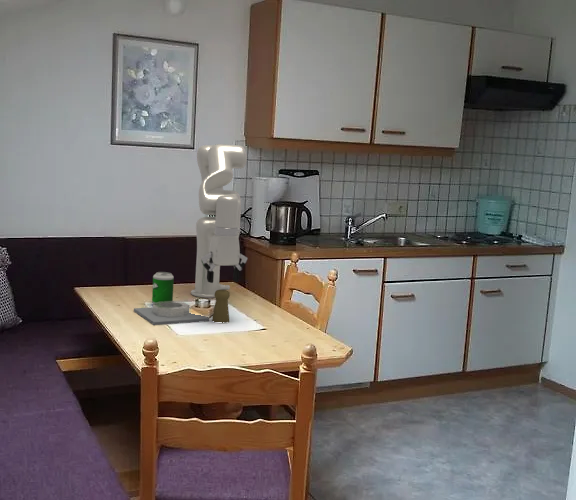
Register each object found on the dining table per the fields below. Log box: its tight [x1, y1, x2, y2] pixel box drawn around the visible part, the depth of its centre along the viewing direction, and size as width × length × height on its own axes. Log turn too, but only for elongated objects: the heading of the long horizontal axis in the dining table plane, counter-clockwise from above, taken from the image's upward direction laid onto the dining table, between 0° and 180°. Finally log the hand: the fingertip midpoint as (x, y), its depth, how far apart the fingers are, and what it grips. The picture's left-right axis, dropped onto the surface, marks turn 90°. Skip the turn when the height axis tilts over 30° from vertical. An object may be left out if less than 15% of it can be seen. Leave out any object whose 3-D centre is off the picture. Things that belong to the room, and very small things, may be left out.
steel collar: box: [152, 300, 190, 318], centre depth 248 cm, size 12×12×3 cm
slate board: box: [133, 306, 210, 326], centre depth 248 cm, size 20×20×1 cm
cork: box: [211, 290, 231, 324], centre depth 246 cm, size 6×6×11 cm
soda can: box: [151, 271, 175, 305], centre depth 263 cm, size 8×8×12 cm
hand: (223, 281), depth 244 cm, fingers open, 9 cm apart
